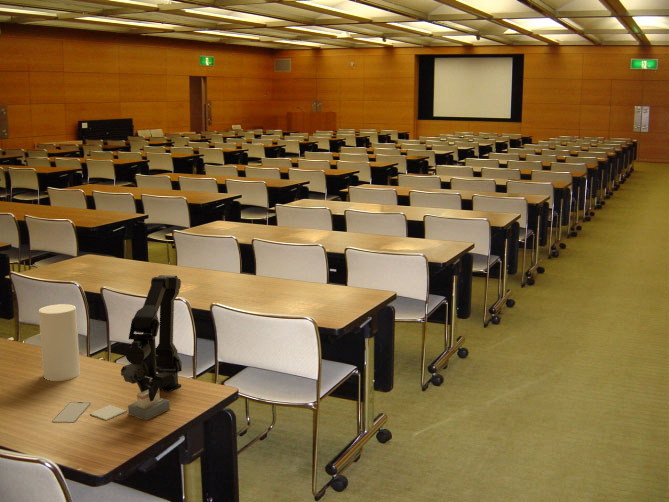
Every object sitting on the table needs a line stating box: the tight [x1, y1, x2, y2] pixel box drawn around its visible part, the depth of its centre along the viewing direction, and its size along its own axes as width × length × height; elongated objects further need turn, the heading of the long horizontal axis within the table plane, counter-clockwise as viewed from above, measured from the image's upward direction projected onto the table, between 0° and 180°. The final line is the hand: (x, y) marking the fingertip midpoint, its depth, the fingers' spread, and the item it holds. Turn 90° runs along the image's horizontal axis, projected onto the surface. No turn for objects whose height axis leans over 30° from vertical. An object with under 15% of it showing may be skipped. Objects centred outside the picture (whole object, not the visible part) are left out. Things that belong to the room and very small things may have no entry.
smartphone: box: [51, 401, 92, 424], centre depth 224 cm, size 7×1×15 cm
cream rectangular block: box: [136, 389, 161, 408], centre depth 224 cm, size 7×2×7 cm, turn 147°
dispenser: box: [127, 397, 171, 421], centre depth 224 cm, size 10×8×3 cm
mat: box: [89, 404, 128, 422], centre depth 223 cm, size 8×8×1 cm
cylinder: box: [38, 303, 81, 382], centre depth 254 cm, size 12×12×25 cm
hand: (148, 399), depth 224 cm, fingers closed on cream rectangular block, 2 cm apart
